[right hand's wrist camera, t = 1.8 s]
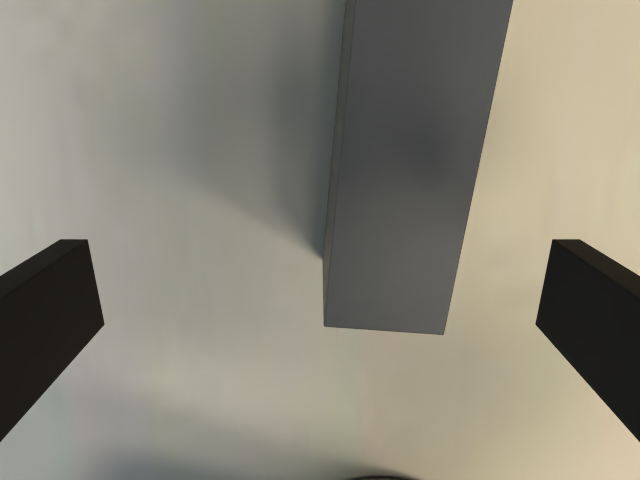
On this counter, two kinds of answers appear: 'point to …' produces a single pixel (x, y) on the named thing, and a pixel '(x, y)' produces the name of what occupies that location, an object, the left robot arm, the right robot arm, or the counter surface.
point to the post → (406, 157)
